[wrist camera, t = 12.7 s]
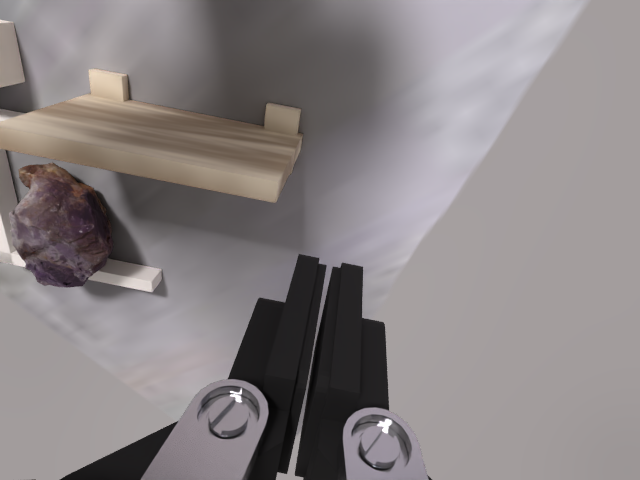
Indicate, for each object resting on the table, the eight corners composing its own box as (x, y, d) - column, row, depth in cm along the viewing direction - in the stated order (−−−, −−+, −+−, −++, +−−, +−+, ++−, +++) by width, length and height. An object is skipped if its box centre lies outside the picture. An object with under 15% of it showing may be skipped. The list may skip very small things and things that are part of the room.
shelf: (89, 67, 37) (-19, 91, 27) (306, 109, 37) (282, 150, 27) (96, 132, 40) (2, 176, 30) (297, 171, 40) (272, 230, 30)
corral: (-20, 104, 40) (-42, 110, 38) (156, 139, 40) (144, 147, 38) (16, 250, 49) (0, 262, 46) (161, 279, 48) (152, 292, 46)
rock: (62, 240, 49) (144, 254, 48) (10, 291, 42) (104, 309, 42) (28, 150, 41) (123, 166, 41) (-43, 196, 35) (70, 215, 34)
